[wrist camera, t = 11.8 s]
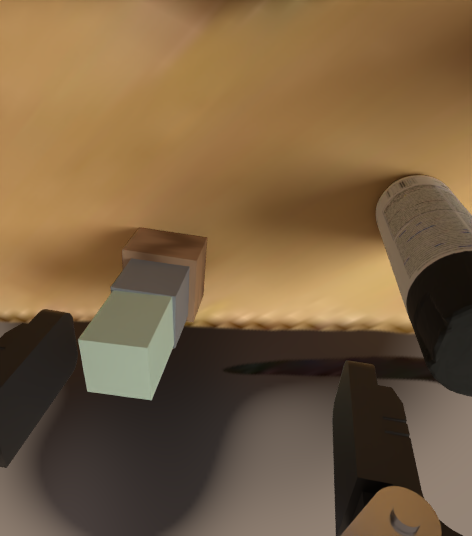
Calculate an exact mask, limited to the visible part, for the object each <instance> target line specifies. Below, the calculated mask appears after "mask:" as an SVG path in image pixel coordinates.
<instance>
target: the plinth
mask: <svg viewBox="0 0 472 536" xmlns="http://www.w3.org/2000/svg"><path fill="white" fill-rule="evenodd" d="M206 248H207V237H200V236H193V235H187V234H180V233H173V232H166V231H160V230H153V229H146V228H139V229H138V230H137V231H136V232H135V234H134V235H133V236H132V237H131V239H130V240H129V241H128V242H127V244H126V245H125V246H124V247H123V249H122V261H123V269H124V268H125V267H126V265H127V264H128V262H129V261H130V260H131V258H132V259H139V260H146V261H153V262H160V263H167V264H174V265H182V266H189V267H190V272H189V303H188V317H187V319H186V321H189V322H194V319H195V316H196V314H197V311H198V308H199V306H200V303H201V300H202V297H203V292H204V278H205V263H206Z"/></svg>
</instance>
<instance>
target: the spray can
mask: <svg viewBox="0 0 472 536" xmlns="http://www.w3.org/2000/svg"><path fill="white" fill-rule="evenodd" d="M376 222H377V226H378V228H379V231H380V234H381V237H382V240H383V243H384V246H385V249H386V252H387V255H388V258H389V260H390V263H391V266H392V269H393V272H394V275H395V278H396V281H397V284H398V287H399V290H400V293H401V296H402V299H403V302H404V304H405V307H406V310H407V313H408V316H409V319H410V321H411V323H412V326H413V329H414V332H415V335H416V337H417V340H418V343H419V345H420V348H421V351H422V353H423V357H424V360H425V363H426V366H427V368H428V369H429V371H430V372H431V374H432V375H433V377H434V378H435V379H436V380H437V381H438V382H439V383H441V384H442V385H443V386H444V387H446V388H447V389H449V390H451V391H453V392H456V393H459V394H463V395H466V396H472V215H471V214H470V213H469V212H468V210H467V209H466V208H465V207H464V206H463V205H462V203H461V202H460V201H459V200H458V199H457V197H456V196H455V195H454V194H453V193H452V191H451V190H450V189H449V188H448V187H447V186H446V185H445V184H444V183H443V182H441V181H440V180H438V179H436V178H433V177H430V176H426V175H414V176H407V177H404V178H401V179H399V180H397V181H395V182H393V183H392V184H391V185H390V186H389V187H388V188H387V189H386V190H385V191H384V192H383V194H382V195H381V197H380V199H379V201H378V203H377V206H376Z"/></svg>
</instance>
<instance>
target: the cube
mask: <svg viewBox="0 0 472 536" xmlns="http://www.w3.org/2000/svg"><path fill="white" fill-rule="evenodd" d="M189 272H190V267H189V266H182V265H174V264H167V263H160V262H153V261H146V260H139V259H132V258H131V260H130V261H129V262H128V264H127V265H126V267H125V268H124V269H123V271H122V272H121V273H120V275H119V276H118V278H117V279H116V280H115V282H114V283H113V285H112V286H111V293H112V291H113V290H115V291H124V292H134V293H143V294H152V295H161V296H170V297H172V307H173V331H174V346H173V348H175V347H176V344H177V342H178V339H179V337H180V334H181V331H182V329H183V327H184V324H185V322H186V319H187V317H188V303H189Z"/></svg>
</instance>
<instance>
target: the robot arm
mask: <svg viewBox="0 0 472 536" xmlns="http://www.w3.org/2000/svg"><path fill="white" fill-rule="evenodd" d="M77 356H78V352H77V345H76V338H75V331H74V324H73V318H72V316H71V314H70V313H65V312H59V311H53V310H47V309H44V310H42V311H40V312H39V313H38V314H37V315H36V316H35V317H34V318H33V319H32V321H31V322H30V323H29V324H25V323H22V324H20V325H19V326H17V327H15V328H13V329H12V330H10V331H8V332H6V333H5V334H4V335H3V336H2V337H1V338H0V467H5V468H7V466H8V465H9V464H10V462H11V461H12V459H13V458H14V456H15V455H16V454H17V452H18V451H19V449H20V448H21V446H22V445H23V443H24V442H25V441H26V439H27V438H28V436H29V435H30V433H31V432H32V431H33V429H34V428H35V426H36V425H37V423H38V422H39V420H40V419H41V418H42V416H43V415H44V413H45V412H46V410H47V409H48V408H49V406H50V405H51V403H52V402H53V400H54V399H55V398H56V396H57V394H58V393H59V392H60V390H61V389H62V387H63V386H64V385H65V383H66V382H67V380H68V379H69V377H70V376H71V374H72V373H73V371H74V369H75V366H76V363H77ZM333 453H334V454H333V455H334V486H335V487H334V488H335V519H336V536H463V535H460V534H459V533H457V532H455V531H453V530H452V529H450V528H449V527H447V526H446V525H445V524H444V523H442V522H441V521H440V520H439V518H438V516H437V514H436V512H435V511H434V509H433V508H432V507H431V505H430V504H429V503H428V502H427V501H426V500H425V499H424V497H423V494H422V491H421V486H420V481H419V476H418V472H417V467H416V462H415V458H414V453H413V449H412V444H411V439H410V438H409V430H408V425H407V424H406V416H405V412H404V407H403V403H402V402H401V400H400V399H399V397H398V396H397V394H396V393H395V391H394V390H393V389H392V388H391V387H386V386H380V385H378V384H377V378H376V371H375V367H374V365H370V364H364V363H359V362H353V361H346V362H345V364H344V367H343V371H342V375H341V379H340V383H339V387H338V390H337V394H336V397H335V402H334V408H333Z"/></svg>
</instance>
